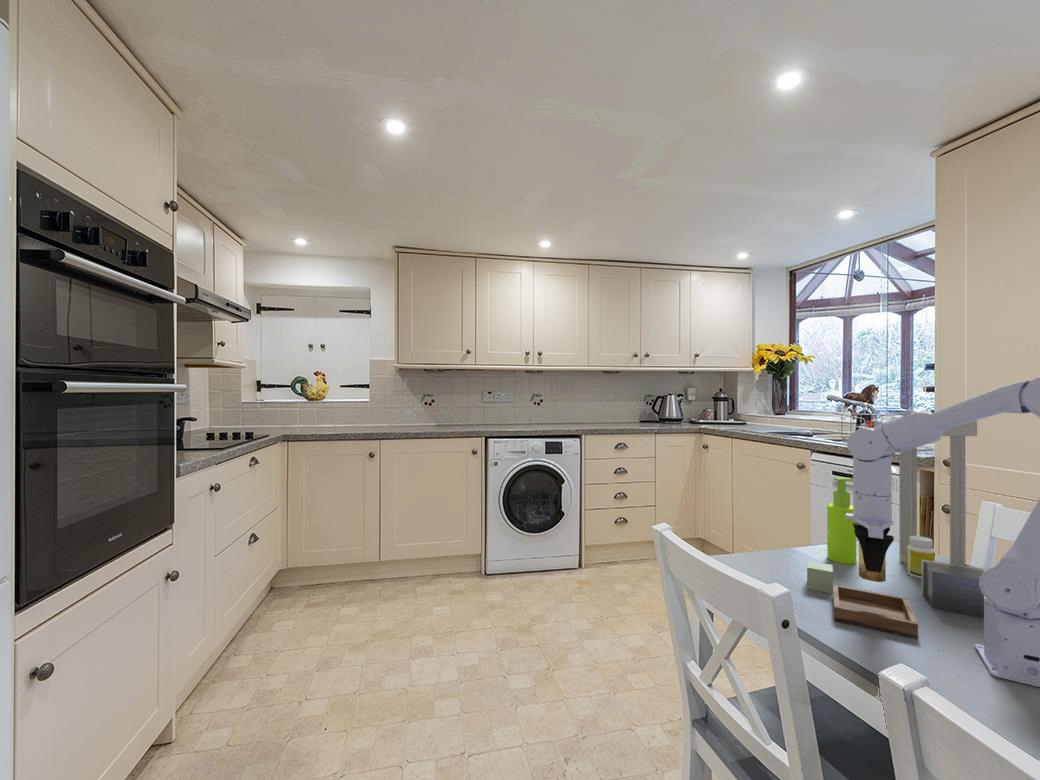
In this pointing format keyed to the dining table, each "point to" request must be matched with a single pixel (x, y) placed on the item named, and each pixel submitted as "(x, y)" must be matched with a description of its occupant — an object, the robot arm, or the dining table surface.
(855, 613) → the walnut tray
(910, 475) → the stool
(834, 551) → the soap dispenser
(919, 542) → the supplement bottle
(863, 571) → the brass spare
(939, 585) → the block
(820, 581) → the sage block
